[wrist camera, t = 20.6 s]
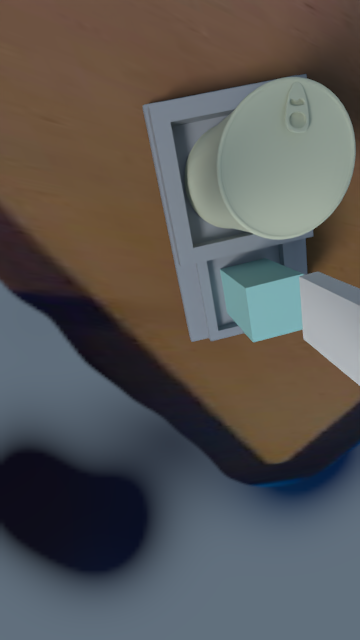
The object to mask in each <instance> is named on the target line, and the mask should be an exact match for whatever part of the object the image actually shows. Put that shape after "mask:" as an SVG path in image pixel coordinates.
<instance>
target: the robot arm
mask: <svg viewBox="0 0 360 640" xmlns="http://www.w3.org/2000/svg"><path fill="white" fill-rule="evenodd" d="M299 282H300V296H301V311H302V325H303V339H304V340H305V341H307V342H308V343H309V344H310V345H311V346H313V347H314V348H315V349H316V350H317V351H319V352H320V353H321V354H322V355H323V356H325V357H326V358H327V359H328V360H329V361H331V362H332V363H333V364H334V365H336V366H337V367H338V368H339V369H340V370H342V371H343V372H344V373H345V374H346V375H348V376H349V377H350V378H351V379H352V380H354V381H355V382H356V383H357V384H358V385H360V289H359V288H356V287H354V286H352V285H349V284H347V283H344V282H342V281H339V280H337V279H335V278H332V277H330V276H327V275H325V274H322V273H320V272H314V273H310V274H307V275H303V276H299Z"/></svg>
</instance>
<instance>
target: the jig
mask: <svg viewBox="0 0 360 640" xmlns="http://www.w3.org/2000/svg"><path fill="white" fill-rule="evenodd" d="M290 77H301V78H307V75H306V74H303V75H298V76H297V75H295V76H290ZM279 79H280V78H279ZM274 80H276V79H274ZM270 81H273V80H269V81H264V82H259V83H254V84H249V85H243V86H238V87H233V88H228V89H223V90H218V91H212V92H207V93H202V94H197V95H192V96H187V97H182V98H176V99H171V100H166V101H161V102H156V103H151V104H146V105H143V112H144V117H145V122H146V127H147V132H148V136H149V141H150V146H151V151H152V156H153V161H154V165H155V170H156V175H157V180H158V185H159V190H160V195H161V199H162V204H163V209H164V214H165V219H166V224H167V229H168V233H169V238H170V243H171V248H172V253H173V258H174V262H175V267H176V272H177V277H178V282H179V287H180V292H181V296H182V301H183V306H184V311H185V316H186V321H187V326H188V330H189V335H190V339H191V341H192V342H193V341H197V340H202V339H206V338H209V339H210V340H211V341H214V340H218V339H222V338H226V337H230V336H234V335H238V334H242V333H244V331H243V330H242V329H241V328H240V327H239V326H238V325H237V324H236V322H235V321H234V320H233V319H232V318H231V317H230V316H229V314H228V313H227V309H226V303H225V297H224V291H223V285H222V279H221V273H220V269H223V268H227V267H231V266H235V265H239V264H243V263H247V262H251V261H255V260H259V259H263V258H266V259H269V260H271V261H274V262H276V263H279V264H281V265H283V266H286V267H288V268H291V269H293V270H296V271H298V272H301V273H303V274H304V275H307V257H306V238H309V237H313V230H311V231H309V232H307V233H305V234H303V235H301V236H298V237H294V238H290V239H282V240H276V239H267V238H263V237H260V236H257V235H255V234H253V233H250V232H246V231H242V230H238V229H233V228H231V229H227V228H220V227H217V226H214V225H212V224H210V223H208V222H206V221H205V220H204V219H202V218H201V217H200V216H199V215H198V214H197V213H196V211H195V210H194V209H193V207H192V205H191V203H190V201H189V199H188V196H187V193H186V189H185V180H184V177H185V167H186V162H187V159H188V156H189V154H190V152H191V150H192V148H193V146H194V144H195V143H196V142H197V140H198V139H199V138H200V137H201V136H202V135H203V134H204V133H205V132H207V131H208V130H209V129H211V128H213V127H215V126H217V125H218V124H219V123H220V122H221V121H222V120H224V119H225V118H226V117H227V116H228V115H229V114H230V113H231V112H232V111H234V110H235V108H236V107H237V106H238V105H239V104H240V102H241V101H242V100H243V99H244V98H245V97H246V96H247V95H249V94H250V93H251V92H252V91H254V90H255V89H257V88H258V87H260V86H262V85H264V84H265V83H267V82H270Z"/></svg>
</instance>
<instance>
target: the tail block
mask: <svg viewBox="0 0 360 640" xmlns="http://www.w3.org/2000/svg"><path fill="white" fill-rule="evenodd" d="M220 273H221V279H222V285H223V291H224V297H225V303H226V309H227V313H228V314H229V316H230V317H231V318H232V319H233V320H234V321H235V322H236V324H237V325H238V326H239V327H240V328H241V329H242V330H243V331H244V333H245V334H246V335H247V336H248V337H249V338H250V339H251V341H252V342H257V341H261V340H264V339H268V338H272V337H276V336H280V335H283V334H287V333H291V332H295V331H299V330H302V329H303V325H302V311H301V296H300V282H299V276H303V275H304V274H303V273H301V272H298V271H296V270H293V269H291V268H288V267H286V266H283V265H281V264H279V263H276V262H274V261H271V260H269V259H266V258H263V259H259V260H255V261H251V262H247V263H243V264H239V265H235V266H231V267H227V268H223V269H220Z"/></svg>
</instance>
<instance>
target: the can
mask: <svg viewBox="0 0 360 640" xmlns="http://www.w3.org/2000/svg"><path fill="white" fill-rule="evenodd" d="M355 154H356V145H355V135H354V130H353V126H352V123H351V120H350V117H349V115H348V113H347V111H346V109H345V107H344V106H343V104H342V103H341V101H340V100H339V99H338V97H337V96H336V95H335V94H334V93H333V92H332V91H330V90H329V89H328V88H326V87H325V86H323V85H322V84H320V83H318V82H316V81H313V80H310V79H307V78H301V77H285V78H280V79H276V80H273V81H270V82H267V83H265V84H264V85H262V86H260V87H258V88H257V89H255V90H254V91H252V92H251V93H250V94H249V95H247V96H246V97H245V98H244V99H243V100H242V101H241V102H240V104H239V105H238V106H237V107H236V108H235V110H234V111H232V112H231V113H230V114H229V115H228V116H227V117H226V118H225V119H224V120H222V121H221V122H220V123H219V124H218V125H217V126H215V127H213V128H211V129H209V130H208V131H207V132H205V133H204V134H203V135H202V136H201V137H200V138H199V139H198V140H197V142H196V143H195V144H194V146H193V148H192V150H191V152H190V154H189V156H188V159H187V162H186V167H185V177H184V180H185V189H186V193H187V196H188V199H189V201H190V203H191V205H192V207H193V209H194V210H195V211H196V213H197V214H198V215H199V216H200V217H201V218H202V219H204V220H205V221H206V222H208V223H210V224H212V225H214V226H217V227H220V228H227V229H231V228H233V229H238V230H242V231H246V232H250V233H253V234H255V235H257V236H260V237H263V238H267V239H276V240H282V239H290V238H294V237H298V236H301V235H303V234H305V233H307V232H309V231H311V230H313V229H314V228H316V227H317V226H319V225H320V224H321V223H323V222H324V221H325V220H326V219H327V218H328V217H329V216H330V215H331V214H332V213H333V212H334V210H335V209H336V208H337V206H338V205H339V203H340V202H341V200H342V198H343V197H344V195H345V193H346V191H347V188H348V186H349V183H350V181H351V177H352V174H353V170H354V163H355Z"/></svg>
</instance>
